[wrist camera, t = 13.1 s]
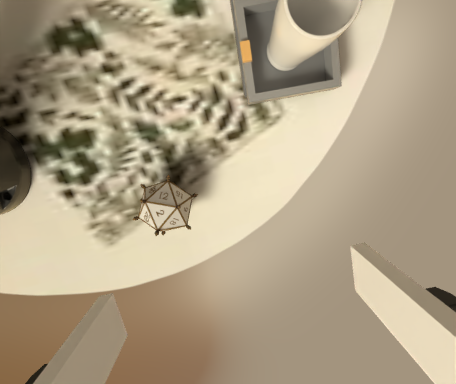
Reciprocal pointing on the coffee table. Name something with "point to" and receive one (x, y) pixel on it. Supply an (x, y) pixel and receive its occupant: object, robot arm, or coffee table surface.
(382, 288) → the robot arm
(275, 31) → the drinking glass
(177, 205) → the game die
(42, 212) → the coffee table surface
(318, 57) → the divided desk organizer
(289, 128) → the coffee table surface
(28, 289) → the coffee table surface
